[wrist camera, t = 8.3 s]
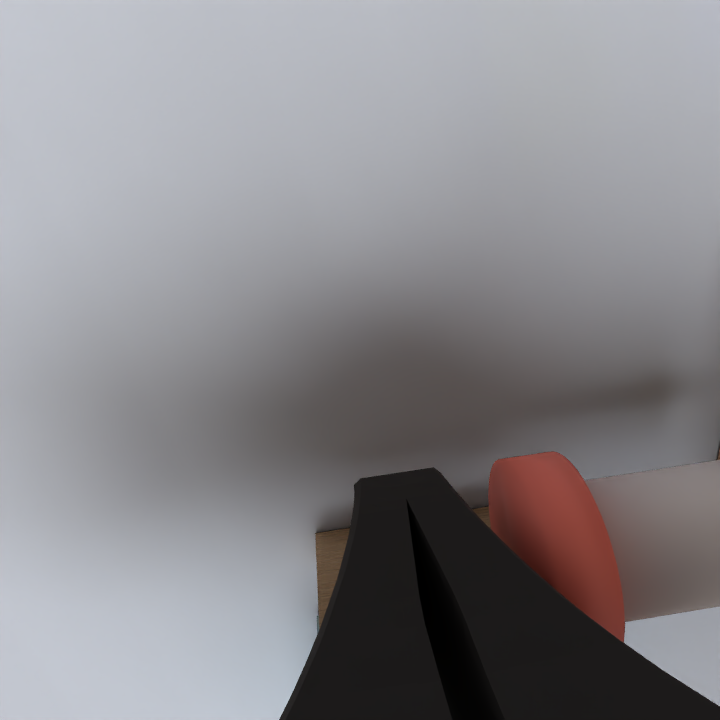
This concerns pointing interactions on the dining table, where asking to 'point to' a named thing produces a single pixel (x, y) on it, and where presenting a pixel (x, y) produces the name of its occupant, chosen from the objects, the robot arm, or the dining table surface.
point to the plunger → (613, 535)
